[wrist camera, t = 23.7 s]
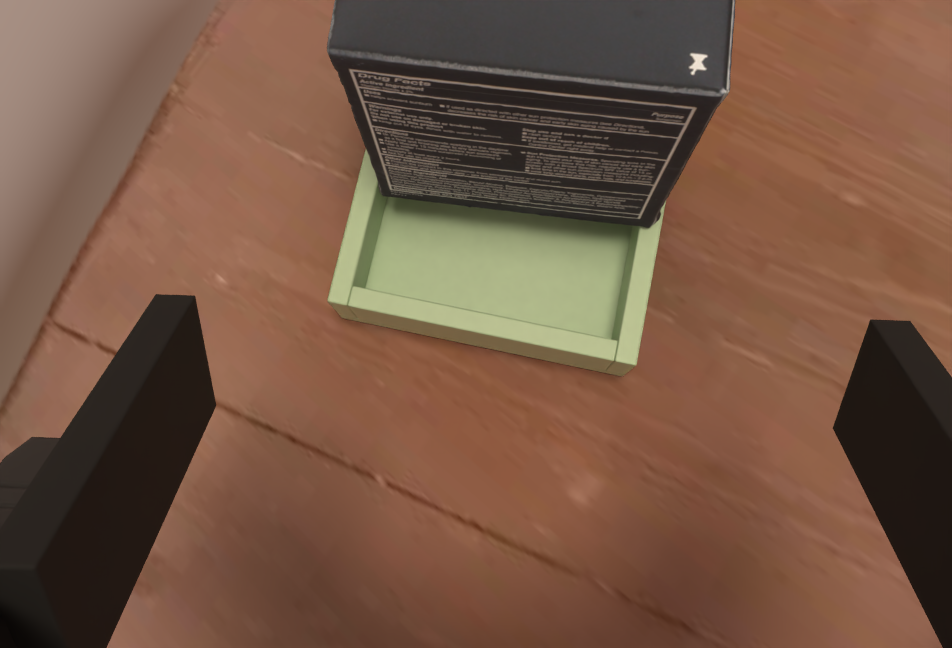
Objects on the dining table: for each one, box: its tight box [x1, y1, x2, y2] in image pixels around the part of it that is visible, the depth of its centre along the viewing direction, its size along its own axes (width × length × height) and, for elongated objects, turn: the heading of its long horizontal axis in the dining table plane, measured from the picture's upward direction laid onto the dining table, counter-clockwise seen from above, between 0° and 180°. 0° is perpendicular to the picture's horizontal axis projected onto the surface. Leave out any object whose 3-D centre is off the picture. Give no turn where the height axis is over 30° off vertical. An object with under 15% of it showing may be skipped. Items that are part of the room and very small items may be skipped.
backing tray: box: [327, 150, 666, 376], centre depth 33 cm, size 12×16×3 cm
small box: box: [327, 0, 735, 228], centre depth 27 cm, size 11×6×10 cm, turn 83°
